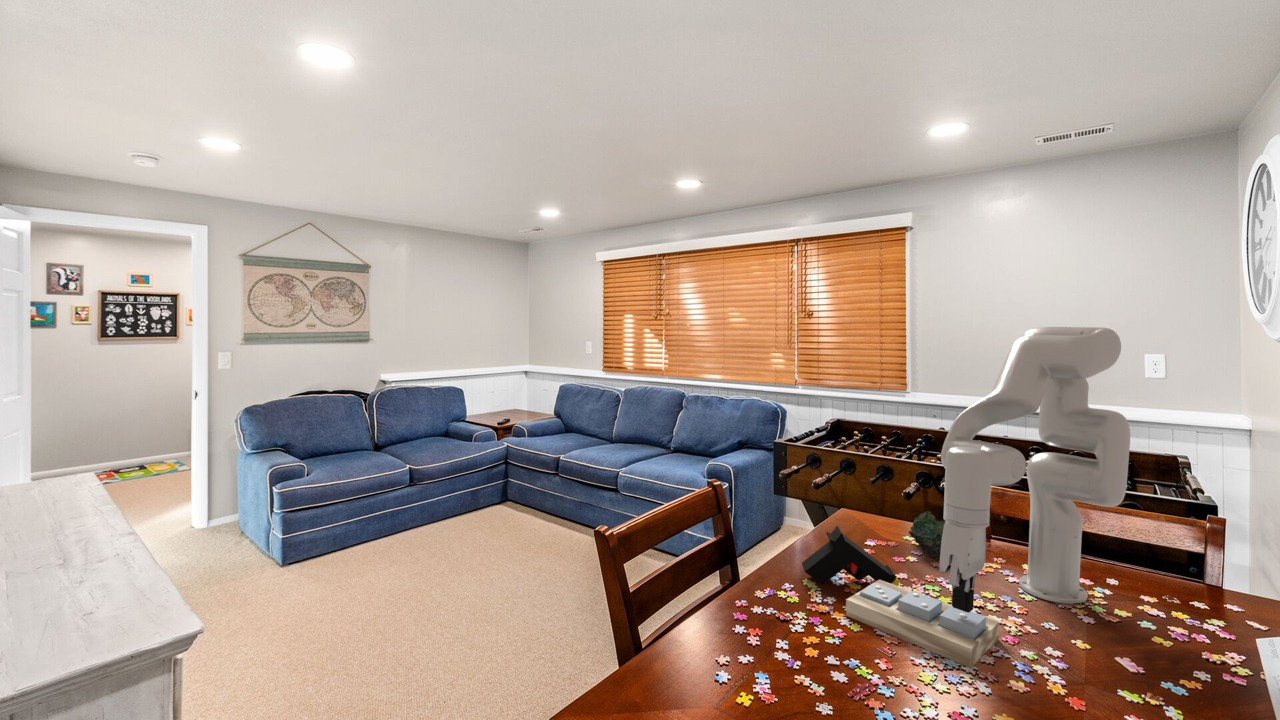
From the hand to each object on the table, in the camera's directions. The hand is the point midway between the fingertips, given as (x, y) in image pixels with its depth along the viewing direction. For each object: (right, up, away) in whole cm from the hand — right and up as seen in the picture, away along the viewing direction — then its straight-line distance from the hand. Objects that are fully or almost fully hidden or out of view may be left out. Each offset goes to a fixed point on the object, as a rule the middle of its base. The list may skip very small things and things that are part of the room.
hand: (962, 608), depth 109 cm
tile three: (-10, -5, +13) cm, 17 cm away
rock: (+16, -4, +44) cm, 47 cm away
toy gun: (-12, -6, +27) cm, 30 cm away
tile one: (0, -4, 0) cm, 4 cm away
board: (-5, -7, +7) cm, 11 cm away
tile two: (-5, -4, +7) cm, 9 cm away
